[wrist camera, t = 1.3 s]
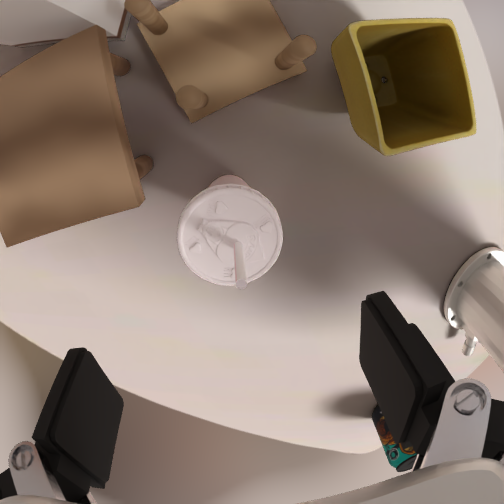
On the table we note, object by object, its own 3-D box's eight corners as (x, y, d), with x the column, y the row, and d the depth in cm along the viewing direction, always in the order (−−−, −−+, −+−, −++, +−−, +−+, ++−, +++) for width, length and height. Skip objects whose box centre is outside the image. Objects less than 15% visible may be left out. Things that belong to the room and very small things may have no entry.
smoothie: (241, 241, 29) (252, 347, 17) (179, 208, 27) (142, 298, 15) (279, 183, 27) (325, 256, 14) (215, 145, 25) (203, 185, 13)
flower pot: (417, 121, 25) (479, 135, 17) (337, 140, 26) (383, 158, 18) (394, 34, 21) (453, 18, 13) (308, 46, 22) (346, 21, 14)
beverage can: (401, 387, 42) (431, 446, 31) (412, 402, 45) (438, 455, 34) (364, 409, 44) (387, 470, 33) (378, 422, 46) (399, 476, 36)
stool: (164, 175, 26) (139, 206, 18) (54, 209, 26) (6, 247, 18) (134, 46, 21) (96, 24, 13) (23, 96, 21) (-35, 102, 13)
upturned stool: (302, 72, 23) (336, 59, 15) (193, 122, 24) (177, 129, 16) (250, -22, 19) (260, -68, 11) (141, 28, 20) (106, -1, 12)
